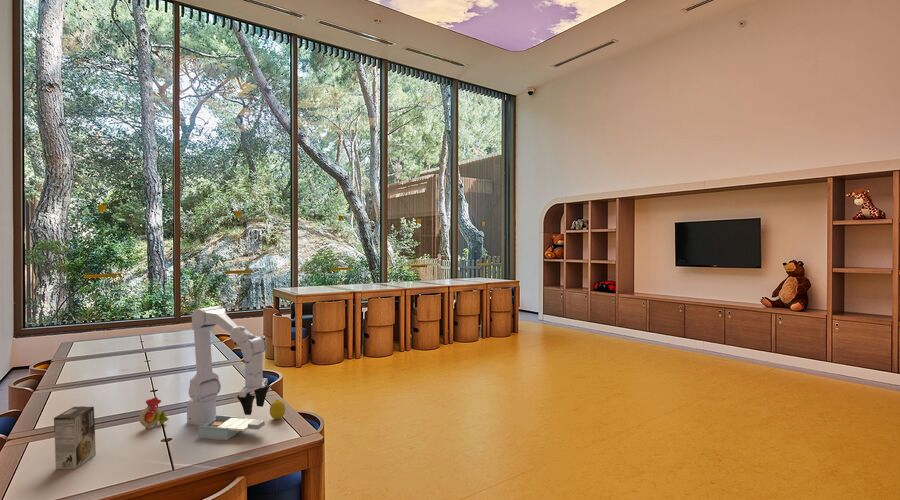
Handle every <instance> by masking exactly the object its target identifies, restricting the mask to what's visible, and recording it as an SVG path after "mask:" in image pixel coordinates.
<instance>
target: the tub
mask: <svg viewBox="0 0 900 500" xmlns="http://www.w3.org/2000/svg"><path fill="white" fill-rule="evenodd" d="M230 418H243V419H245V417H244V416H237V415H236V416H235V415H233V416H232V415H221V414H216V418H215V419H214V420H212V421H210V422H209V423H207V424H206V425H197V428H198V429H197V430H198V431H197V434H198V435H197V436H198V439H208V440H209V439H210V440H219V441H228V440H230V439H231V438H233V437H234V436H236V435H237V434H238V433H240V432H241V431H234V430H228V428H223V427H211V425H212V424H213V423H214V422H223V423H224V422H225V421H227V420H229V419H230Z"/></svg>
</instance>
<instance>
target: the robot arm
mask: <svg viewBox="0 0 900 500" xmlns="http://www.w3.org/2000/svg"><path fill="white" fill-rule="evenodd" d="M216 325H217V326H219V327H220V328H221V329H223V330H224V331H226V332H227V333H228V334H229V338H230V339H231V341H233V342H234V343H235V344H236V345H238V346H239V347H240V351H241V354H242V357H243V358H242V360H243V361H244V386H243V387H242V388H241V389H240V390H239V391H238V393H239V394H238V395H237V396H236V397H237V400H238V401H239V403H240V404H241V407H242V410H243V413H244V415H245V416H251V415H252V411H253V403H254V399H255V404H256V407H261V408H262V407H264V405H265V400H266V397H267V394H268V392H269V390H270V385H269V384H268V383H269V382H268V378H265V377H263V375H264V374H263V372H264V371H263V353H264V352H266V349H267V342H266V340H265V339H264V338H263V336H260V335H259V336H257V335H254V334H253V332H251V331H249V330H248V329H247V328H246V327H245V325H237V324H236V323H235V322H234V321H233V320H232V319H231V318H230V317H229V316H228V314H227V310H226V308H224V306H222V305H215V306H210V307H202V308H196V309H194V310H193V312H192V313H191V328H192V331H193V335H194V336H193V337H194V352H195V353H194V355H195V367H196V374H194V375H193V377H192V378H191V379H190V380H189V388H188V396H189V398H190V399H189V400H188V401H187V405H186V422H185V424H186V425H197V426H204V425H206V424H207V423H209V422H210V421H212V420H214V419H215V418H216V415H217V402H216V400H217V399H216V397H218V394H219V393H220V392H221V390H222V389H221V387H222V385H221V382H220V378H219V377H220V376H219V375H218V374H217V373H216V372H213V364H212V363H213V362H212V361H213V360H212V359H213V358H212V348H211V347H212V346H211V330H212V329H213V328H214V327H215V326H216ZM252 392H254V395H253V394H251V393H252Z"/></svg>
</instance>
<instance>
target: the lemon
mask: <svg viewBox="0 0 900 500" xmlns="http://www.w3.org/2000/svg"><path fill="white" fill-rule="evenodd" d="M285 412H286V405H285V403H284V402H283V401H282V400H280V399H276V400H274V401H272V402H271V404H270V406H269V415H270V417H271V418H272V419H274V420H279V419H282V418H283V416H285Z"/></svg>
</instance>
